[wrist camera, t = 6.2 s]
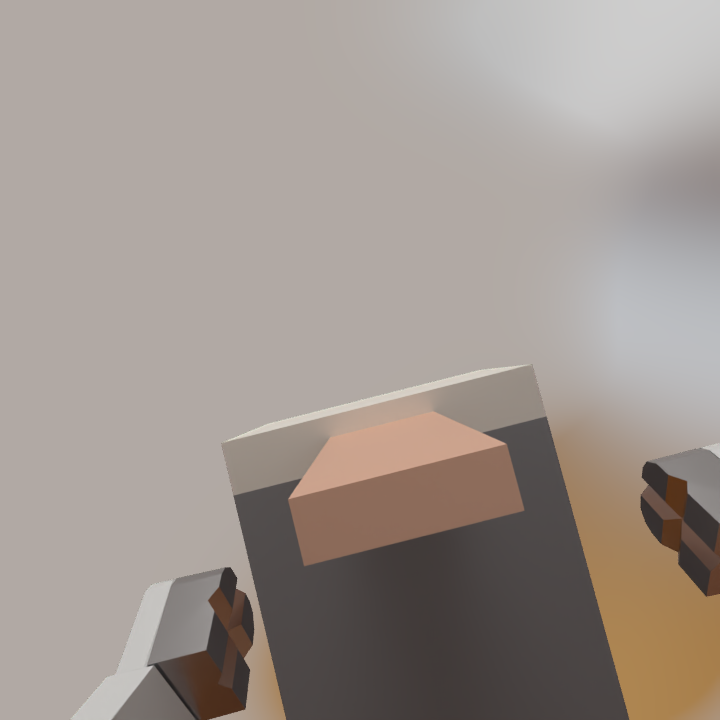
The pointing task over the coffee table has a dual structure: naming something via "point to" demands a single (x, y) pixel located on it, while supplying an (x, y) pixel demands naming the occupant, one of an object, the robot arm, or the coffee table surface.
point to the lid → (393, 461)
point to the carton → (440, 612)
